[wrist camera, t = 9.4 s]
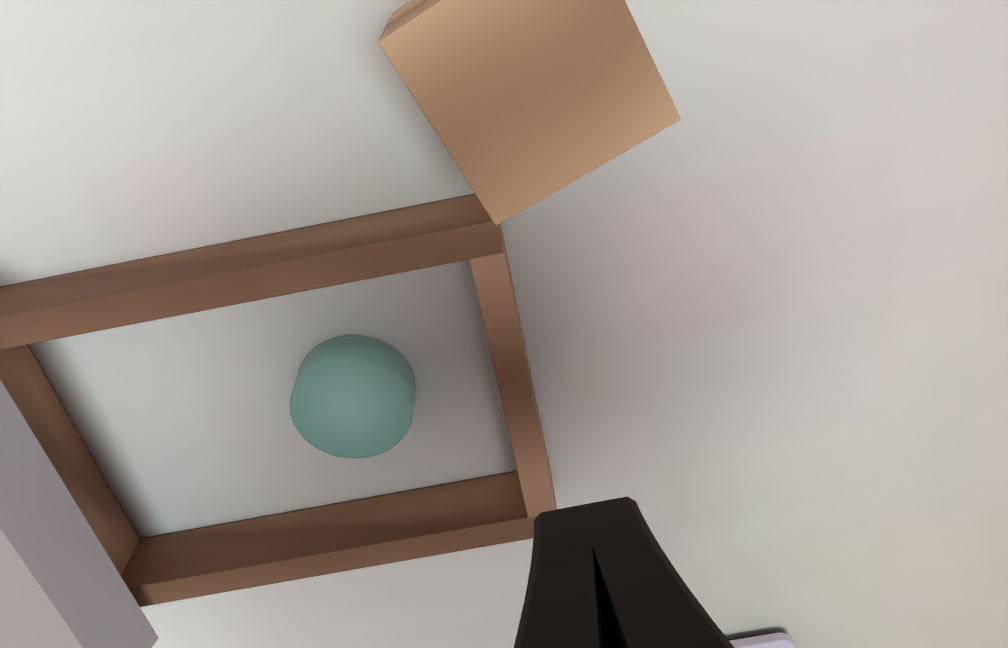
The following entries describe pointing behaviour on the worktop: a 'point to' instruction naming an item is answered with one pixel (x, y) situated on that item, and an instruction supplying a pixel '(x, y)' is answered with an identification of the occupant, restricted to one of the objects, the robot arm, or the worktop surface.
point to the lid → (54, 558)
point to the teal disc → (353, 397)
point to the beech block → (528, 89)
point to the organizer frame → (259, 275)
